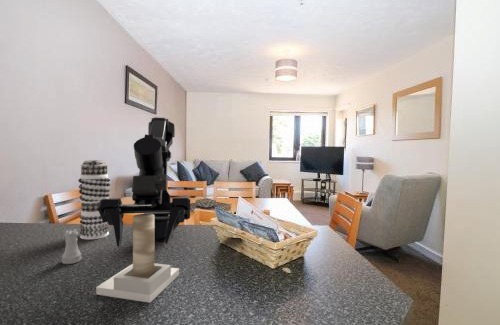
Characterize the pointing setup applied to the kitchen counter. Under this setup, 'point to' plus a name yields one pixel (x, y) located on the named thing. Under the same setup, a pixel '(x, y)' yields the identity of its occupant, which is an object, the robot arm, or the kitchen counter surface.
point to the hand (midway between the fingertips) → (142, 245)
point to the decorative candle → (93, 198)
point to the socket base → (138, 284)
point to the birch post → (143, 245)
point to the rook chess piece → (71, 248)
